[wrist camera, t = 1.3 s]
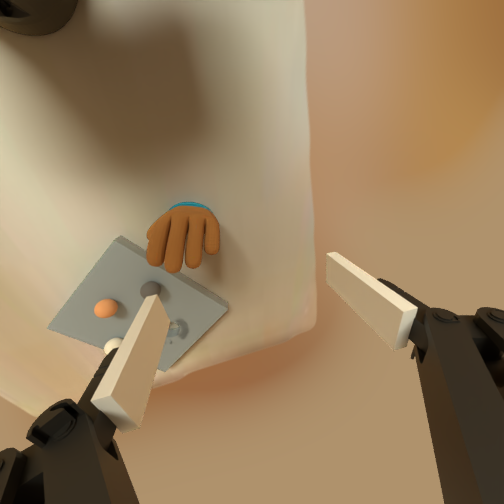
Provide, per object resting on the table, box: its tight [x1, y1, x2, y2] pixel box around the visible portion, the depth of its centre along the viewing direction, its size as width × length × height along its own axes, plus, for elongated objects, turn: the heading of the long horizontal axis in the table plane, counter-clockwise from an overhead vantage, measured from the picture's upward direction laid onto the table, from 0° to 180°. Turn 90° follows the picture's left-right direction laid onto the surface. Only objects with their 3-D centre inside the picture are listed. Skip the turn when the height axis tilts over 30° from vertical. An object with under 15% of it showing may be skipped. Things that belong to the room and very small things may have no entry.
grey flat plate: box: [47, 236, 228, 372], centre depth 40 cm, size 26×24×2 cm
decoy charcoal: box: [140, 281, 161, 299], centre depth 35 cm, size 4×4×4 cm
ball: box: [94, 299, 118, 318], centre depth 35 cm, size 4×4×4 cm
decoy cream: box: [104, 338, 123, 355], centre depth 39 cm, size 4×4×4 cm
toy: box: [146, 202, 220, 273], centre depth 28 cm, size 12×7×15 cm, turn 82°
